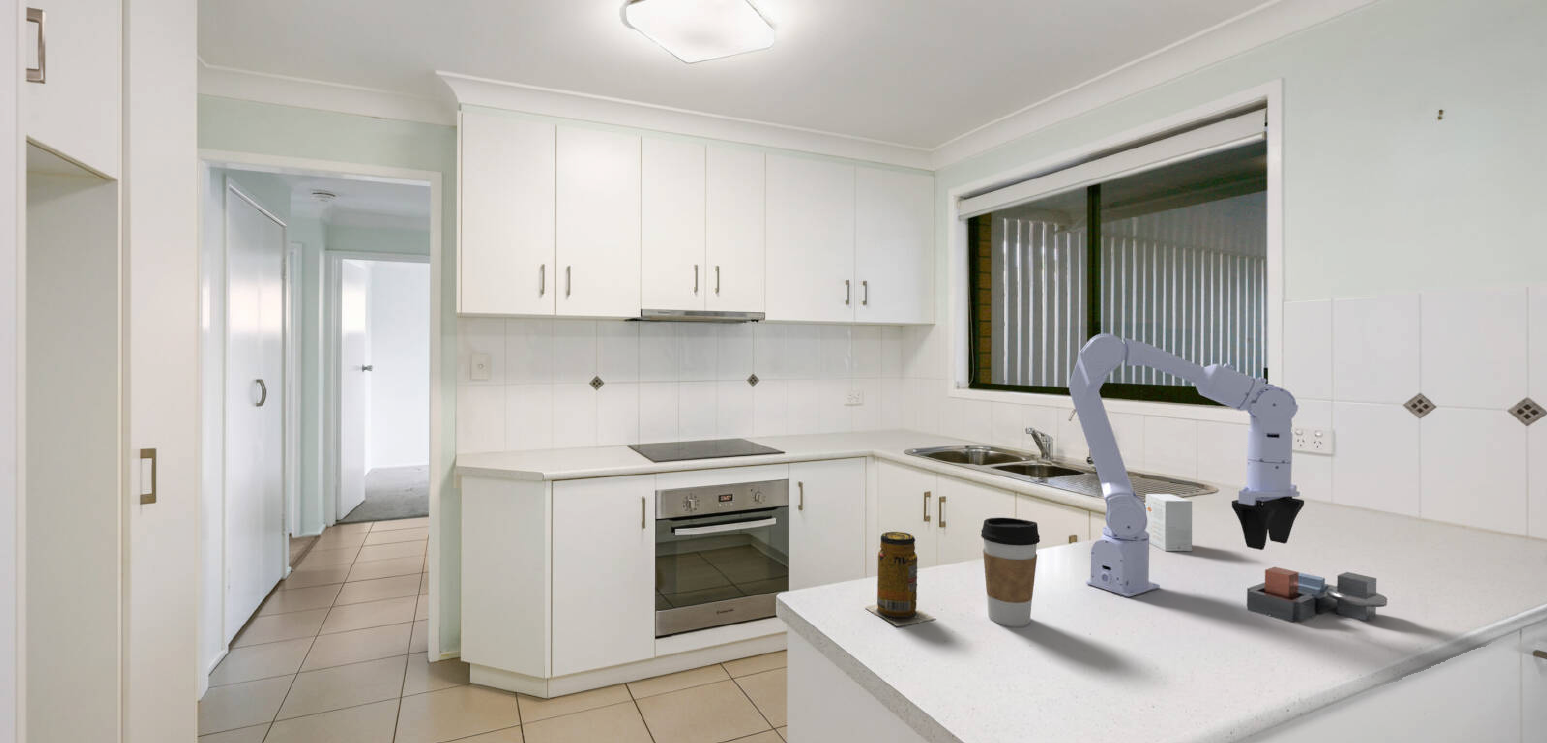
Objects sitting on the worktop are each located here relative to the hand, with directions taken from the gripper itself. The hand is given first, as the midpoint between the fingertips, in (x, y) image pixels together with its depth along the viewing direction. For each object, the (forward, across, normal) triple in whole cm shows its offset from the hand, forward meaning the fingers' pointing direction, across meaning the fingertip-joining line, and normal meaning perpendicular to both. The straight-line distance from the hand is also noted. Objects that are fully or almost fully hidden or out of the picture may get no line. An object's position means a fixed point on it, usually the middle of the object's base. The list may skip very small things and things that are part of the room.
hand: (1266, 545), depth 108 cm
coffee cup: (+10, -40, +17) cm, 45 cm away
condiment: (+10, -54, +27) cm, 61 cm away
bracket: (+10, +8, -2) cm, 13 cm away
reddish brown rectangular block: (+10, -1, -2) cm, 10 cm away
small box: (+10, +21, +27) cm, 36 cm away
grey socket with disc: (+10, +4, -5) cm, 12 cm away
